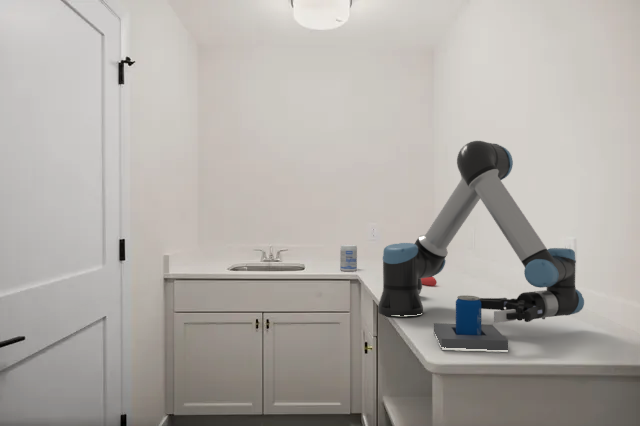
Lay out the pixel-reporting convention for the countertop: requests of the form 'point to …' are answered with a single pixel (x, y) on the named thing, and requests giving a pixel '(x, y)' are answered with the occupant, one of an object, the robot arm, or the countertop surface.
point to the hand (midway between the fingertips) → (476, 311)
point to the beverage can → (468, 315)
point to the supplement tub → (348, 258)
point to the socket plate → (470, 338)
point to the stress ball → (429, 281)
